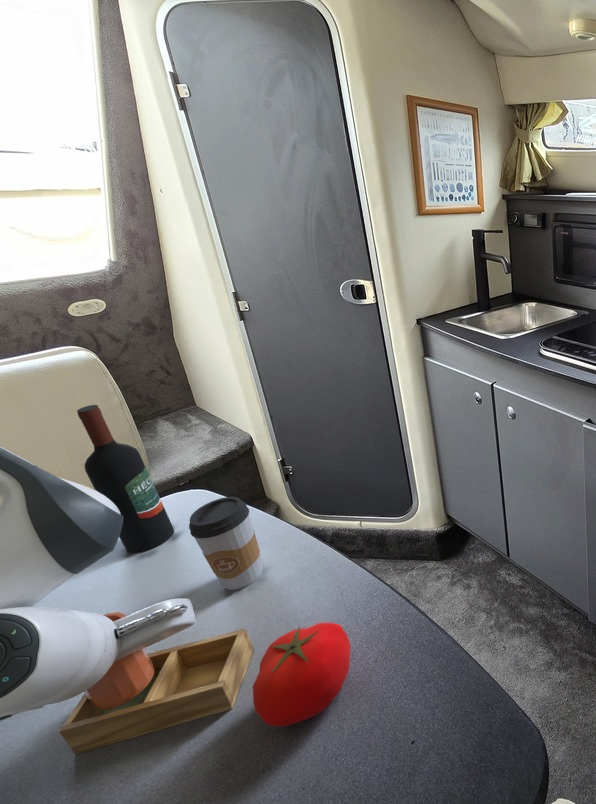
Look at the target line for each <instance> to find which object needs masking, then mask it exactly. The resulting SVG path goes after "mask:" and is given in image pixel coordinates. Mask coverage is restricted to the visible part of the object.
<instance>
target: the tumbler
mask: <svg viewBox="0 0 596 804" xmlns="http://www.w3.org/2000/svg"><path fill="white" fill-rule="evenodd" d="M102 615H103V616H106V617H108V618H109V619H110V620H112V621H113V622H114V621H116V620H119V619H121V618H123V617H126V616H127V615H126V614H124V613H122V612H120V611H118V612H108V613H104V614H102ZM147 654H148V653H147V651H146V648H144V649H141V650H139V651H137V652H135V653H133V654H131V655H128V656H126V657H124V658H122V659H120V660H117V661H115V662H114V663H113V664H112V666H111V667H110V669H109V670H108V671H107V673H106V674H105V675H104V676H103V677H102V678H101V679H100V680H99V681H98V682H97V683H95V684H94V685H93V686H92V687H90V688H89V689H87V690H86V691H84V692H83V693H84V694H86V695H87V697H88V699H89V700H90V702H91V703H92V704H93V705H94V706H95V707H96V708H97V709H101V710H106V709H111V708H114V707H117V706H120V705H122V704H124V703H126V702H127V701H129V700H131V699H132V698H134V697H135V696H136V695H138V694H139V693H140V692H141V691H142V690H143V689H144V688H145V687H146V686H147V685H148V684H149V683H150V681H151V680H152V678H153V676H154V667H153V664H152V662H151V660H150V658H149V657H148V655H147Z"/></svg>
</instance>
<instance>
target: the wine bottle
mask: <svg viewBox="0 0 596 804" xmlns="http://www.w3.org/2000/svg"><path fill="white" fill-rule="evenodd" d="M76 413H77V416H78V418H79V420H80V421H81V424H82V425H83V427H84V429H85V431H86V433H87V435H88V437H89V439H90V441H91V443H92V445H93V451H92V452H91V453H90V455H89V456H88V457H87V458H86V460H85V463H84V471H85V472H86V475H87V477H88V479H89V481H90V483H91V485H92V487H93V490H96V491H97V492H99V493H101V494H103V495H104V496H106V497H107V498H108V499H110V500H111V501H112V502H113V503H114V504H115V505H116V507H117V508H118V509H119V511H120V514H121V515H122V516H123V524H122V529H121V532H120V535H119V538H118V539H119V540H120V541H121V544H122V545H123V548H124V549H125V551H126V552H127V553H129V554H140V553H144V552H147V551H150V550H152V549H155V548H157V547H159V546H161V545H163V544H164V543H166V542H167V541H168V540H170V539H171V537H172V536H173V535H174V533H175V528H174V526H173V524H172V522H171V520H170V518H169V515H168V513H167V511H166V509H165V507H164V504H163V502H162V500H161V497H160V496H159V493H158V491H157V489H156V487H155V485H154V482H153V480H152V478H151V476H150V474H149V471H148V469H147V466H146V465H145V463H144V461H143V458H142V455H141V454H140V451H139V450H138V449H137V448H136V447H134V446H132V445H130V444H127V443H119V442H117V441H116V440H115V439H114V436H113V435H112V433H111V431H110V428H109V427H108V424H107V422H106V420H105V418H104V416H103V412H102V410H101V408H100V407H99V405H98V404H91V405H86V406H83V407H80V408H78V409H77V410H76Z"/></svg>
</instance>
